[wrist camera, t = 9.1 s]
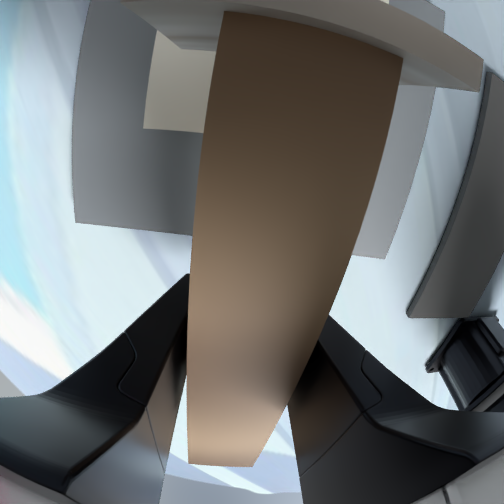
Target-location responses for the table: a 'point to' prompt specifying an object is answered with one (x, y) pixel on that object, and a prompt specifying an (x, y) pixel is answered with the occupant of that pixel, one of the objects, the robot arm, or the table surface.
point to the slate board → (196, 137)
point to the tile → (178, 87)
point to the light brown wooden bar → (284, 187)
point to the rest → (471, 223)
